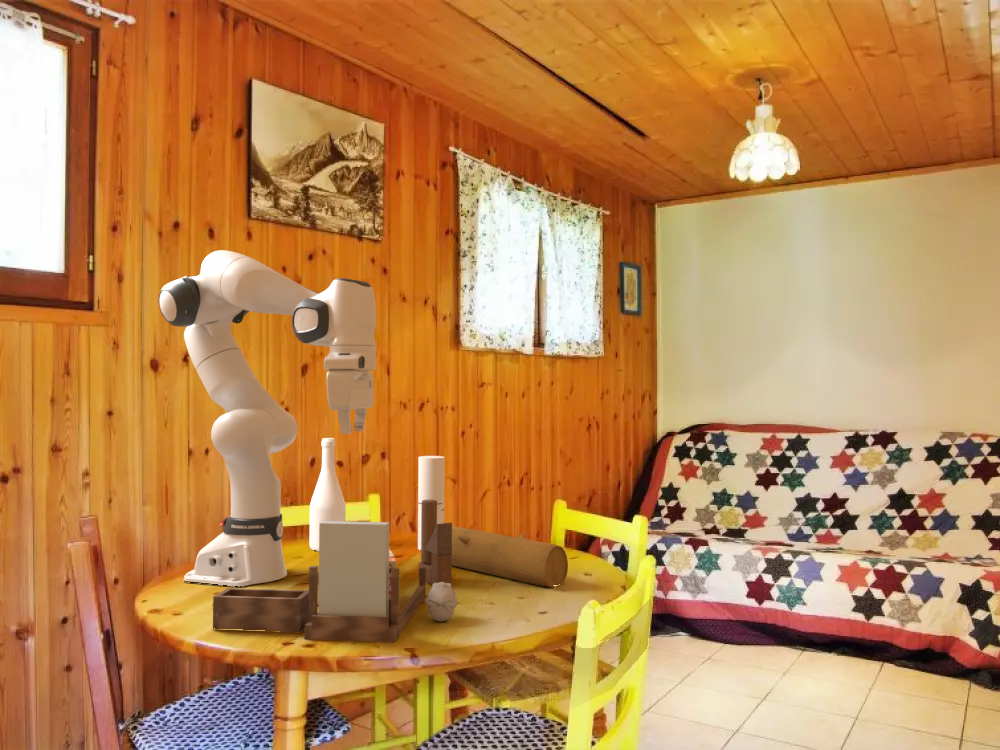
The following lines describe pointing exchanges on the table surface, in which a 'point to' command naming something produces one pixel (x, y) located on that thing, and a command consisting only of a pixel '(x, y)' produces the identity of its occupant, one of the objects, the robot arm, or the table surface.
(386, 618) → the rack
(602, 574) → the table surface
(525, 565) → the log
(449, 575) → the brown wedge with rod
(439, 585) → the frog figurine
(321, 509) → the wine bottle
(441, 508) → the cylindrical container
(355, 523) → the sheet
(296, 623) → the holder
